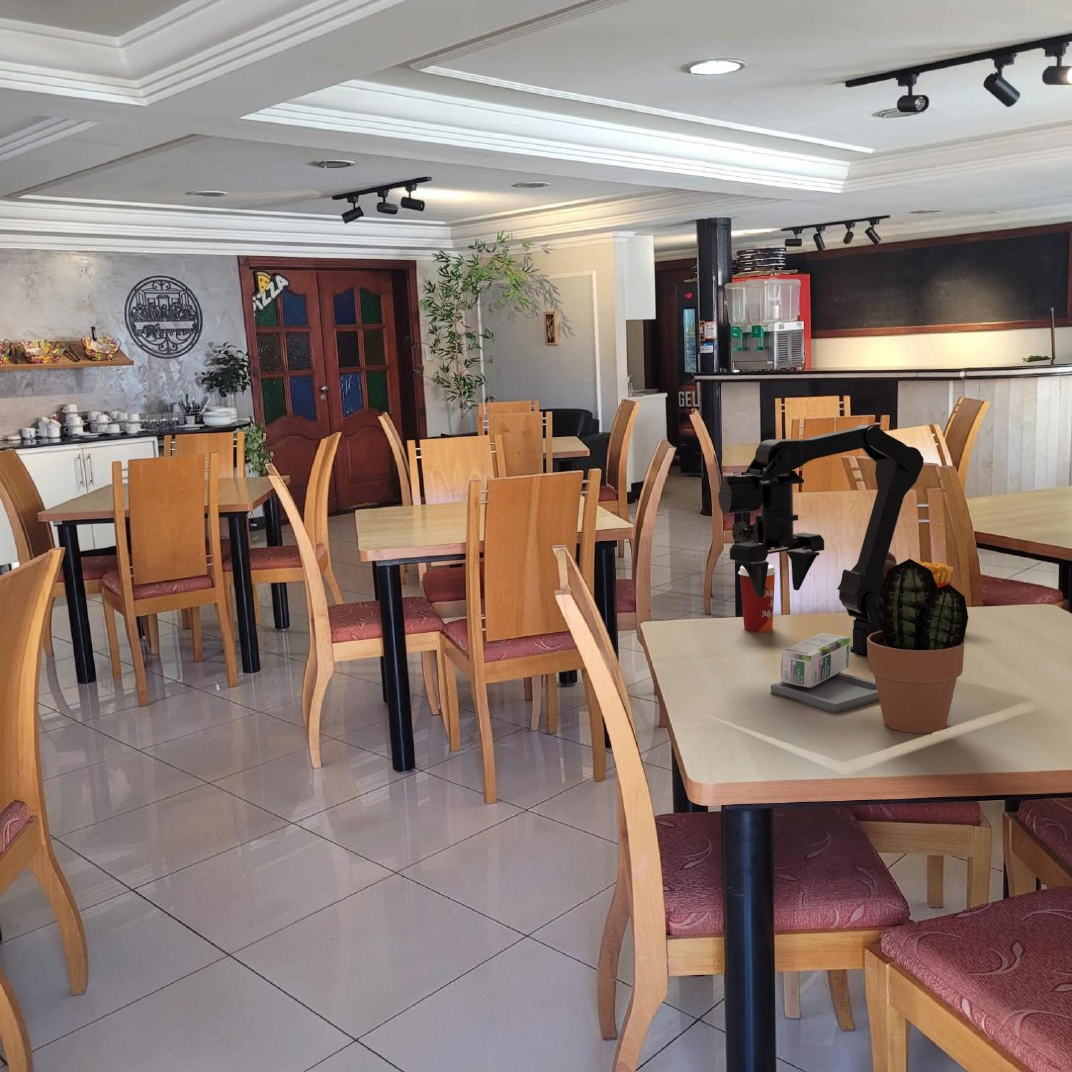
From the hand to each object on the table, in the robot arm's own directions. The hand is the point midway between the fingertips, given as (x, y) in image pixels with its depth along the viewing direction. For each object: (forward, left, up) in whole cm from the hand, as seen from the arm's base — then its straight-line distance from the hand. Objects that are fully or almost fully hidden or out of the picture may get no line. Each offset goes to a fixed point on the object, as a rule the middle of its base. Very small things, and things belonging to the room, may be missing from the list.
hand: (778, 593), depth 194 cm
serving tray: (+8, +20, -13) cm, 25 cm away
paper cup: (-13, -19, -13) cm, 27 cm away
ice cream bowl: (-38, -9, -13) cm, 41 cm away
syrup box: (-2, +12, -9) cm, 15 cm away
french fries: (-42, -1, -13) cm, 44 cm away
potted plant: (+10, +38, -13) cm, 41 cm away
